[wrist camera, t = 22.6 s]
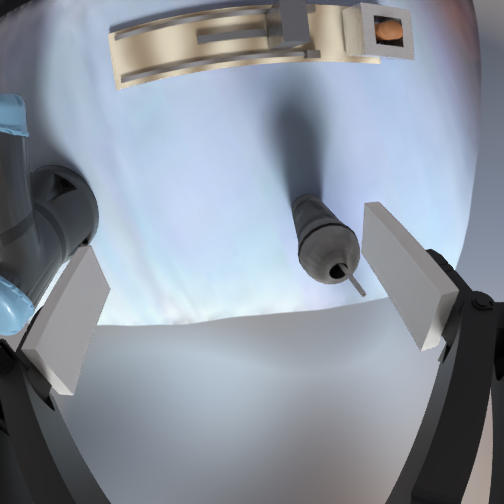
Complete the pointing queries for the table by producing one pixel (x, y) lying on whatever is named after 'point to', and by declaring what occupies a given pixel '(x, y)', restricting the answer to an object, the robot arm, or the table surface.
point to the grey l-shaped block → (274, 27)
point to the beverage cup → (325, 243)
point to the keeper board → (227, 43)
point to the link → (363, 32)
